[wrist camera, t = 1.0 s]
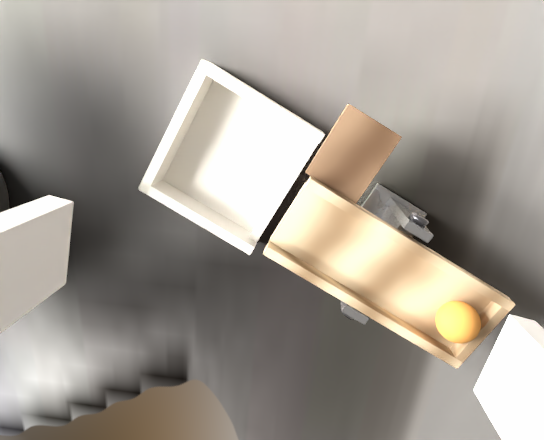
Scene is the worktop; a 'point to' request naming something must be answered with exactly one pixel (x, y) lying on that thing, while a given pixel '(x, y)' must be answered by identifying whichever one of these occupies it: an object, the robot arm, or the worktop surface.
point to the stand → (399, 217)
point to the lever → (374, 246)
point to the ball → (458, 322)
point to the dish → (228, 157)
